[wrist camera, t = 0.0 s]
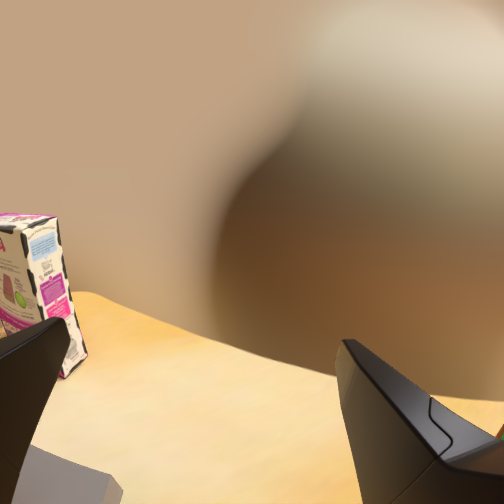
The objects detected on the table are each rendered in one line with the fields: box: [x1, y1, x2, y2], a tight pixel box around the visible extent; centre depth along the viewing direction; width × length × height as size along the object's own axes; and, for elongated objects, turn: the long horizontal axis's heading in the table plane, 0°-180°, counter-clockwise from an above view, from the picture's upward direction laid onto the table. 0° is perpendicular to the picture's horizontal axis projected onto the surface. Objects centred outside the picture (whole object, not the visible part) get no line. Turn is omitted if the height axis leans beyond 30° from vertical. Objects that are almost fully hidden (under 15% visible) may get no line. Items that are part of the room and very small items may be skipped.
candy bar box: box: [0, 213, 88, 378], centre depth 25 cm, size 11×5×16 cm, turn 78°
